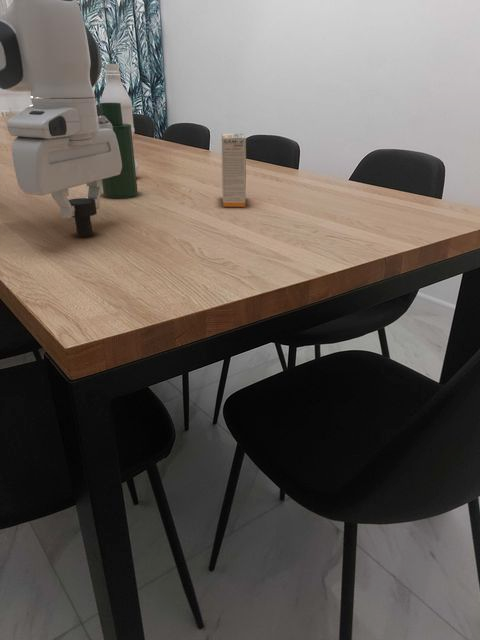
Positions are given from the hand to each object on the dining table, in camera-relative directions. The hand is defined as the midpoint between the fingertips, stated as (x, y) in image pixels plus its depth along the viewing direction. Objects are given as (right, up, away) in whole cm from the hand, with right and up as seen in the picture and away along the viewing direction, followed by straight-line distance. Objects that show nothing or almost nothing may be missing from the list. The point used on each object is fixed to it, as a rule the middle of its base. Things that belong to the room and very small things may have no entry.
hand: (81, 213), depth 81 cm
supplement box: (+23, +9, +24) cm, 35 cm away
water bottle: (-5, +21, +45) cm, 50 cm away
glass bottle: (-2, +12, +29) cm, 31 cm away
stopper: (0, -3, +2) cm, 4 cm away
